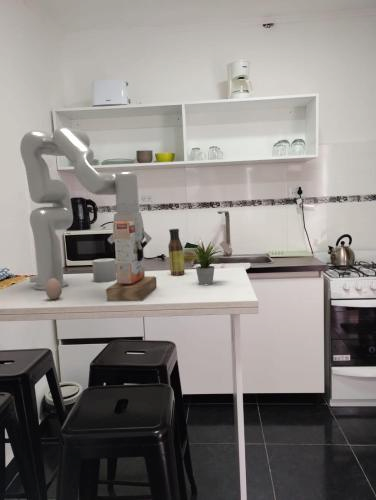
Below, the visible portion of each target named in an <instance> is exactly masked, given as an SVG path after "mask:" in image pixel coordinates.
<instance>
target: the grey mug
mask: <svg viewBox="0 0 376 500" xmlns="http://www.w3.org/2000/svg"><path fill="white" fill-rule="evenodd" d="M91 263H92V274H93V277H92V278H93V282H95V283H110V282H115V281H117V271H116V258H109V257H108V258H97V259H94V260H92V262H91Z"/></svg>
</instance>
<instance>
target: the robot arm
mask: <svg viewBox="0 0 376 500" xmlns="http://www.w3.org/2000/svg"><path fill="white" fill-rule="evenodd" d="M90 145H91V141H90V137H89V135H88V134H87V133H86V132H85V131H84V130H81V129H77V128H72V127H65V126H64V127H58V128H57V129H54V131H53V132H49V131H40V130H32V131H31V130H30V131H27V132H26V133H25V134H24V135H23V136H22V138H21V141H20V146H19V147H20V148H19V150H20V151H19V152H20V155H21V160H22V162H23V164H24V169H25V175H26V179H27V186H28V193H29V197H30V200H31V201H32V202H33V203H35V204H37V205H38V204H42V205H46V204H51V205H52V206H42V207H37V208H35V209H34V210H32V211H31V212H30V214H29V225H30V227H31V230H32V234H33V235H32V236H33V240H34V249H35V259H36V260H35V261H36V269H37V270H36V271H37V272H36V273H37V276H31V277H30V278H29V283H35V285H34V289H35V290H39V291H46V285H47V282H48V281H49V280H50V279H52V278H54V279H57V280H58V281H59V282H60V284H61V287H62V288H65V287H68V285H69V282H68V281H65V280H64V272H63V262H62V261H63V259H62V257H63V256H62V248H61V247H62V246H61V242H60V241H61V240H60V238H59V236H58V235H57V232H56V231H62V230H66V229H69V228H70V227H71V226H72V224H73V222H74V214H73V207H72V200H71V193H70V189H69V187H68V185H67V184H66V183H65V182H64V181H63V180H60V179H52V177H51V175H50V168H49V166H48V163H47V161H46V160H45V159H44V158H43V157H42V155H45V156H54V157H65V158H66V159H67V160H68V161H69V162H70V163H71V164H72V165H73V172H74V175H75V178H76V179H77V181H78V182H79V183H80V185H82V187H83V188H84V189H86V190H87V191H88V192H89V193H91V194H93V195H95V196H107V195H108V196H113V195H114V196H115V202H116V203H115V205H113V206H112V210H113V211H115V213H114V214H113V222H112V223H113V224H112V234H111V235H110V236H109V237H108V238H107V241H108V243H110V244H111V246H112V247H113V248H115V234H114V222H121V221H133V222H134V228H135V242H137V246H138V250H137V255H138V261H141V260H142V258H143V249H145V248H146V246H147V245H148V244H149V243H150V241H152V237H151V236H150V234H149V233H147V232H146V231H145V226H144V220H143V215H142V212H141V211H140V210H139V209H140V207H139V206H140V205H139V191H138V190H139V189H138V177H137V174H136V172H135V171H121V172H117V173H113V172H99V171H97V170H95V168H94V167H93V166H92V165H91V164H92V162H93V160H94V157H95V155H94V154H95V153H94V151H93V149H92V148H91V147H90ZM141 240H143V243H142V241H141Z"/></svg>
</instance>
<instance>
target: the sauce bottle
mask: <svg viewBox="0 0 376 500" xmlns="http://www.w3.org/2000/svg"><path fill="white" fill-rule="evenodd" d="M168 230H169V235H170V238H169V239H170V240H169V243H168V245H167V246H168V261H169V270H170V275H171V276H183V275H184V274H185V268H186V267H185V259H184V257H185V256H184V247H183V244H182V241H181V240H180V234H179V233H180V229H179V228H170V229H168Z"/></svg>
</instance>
